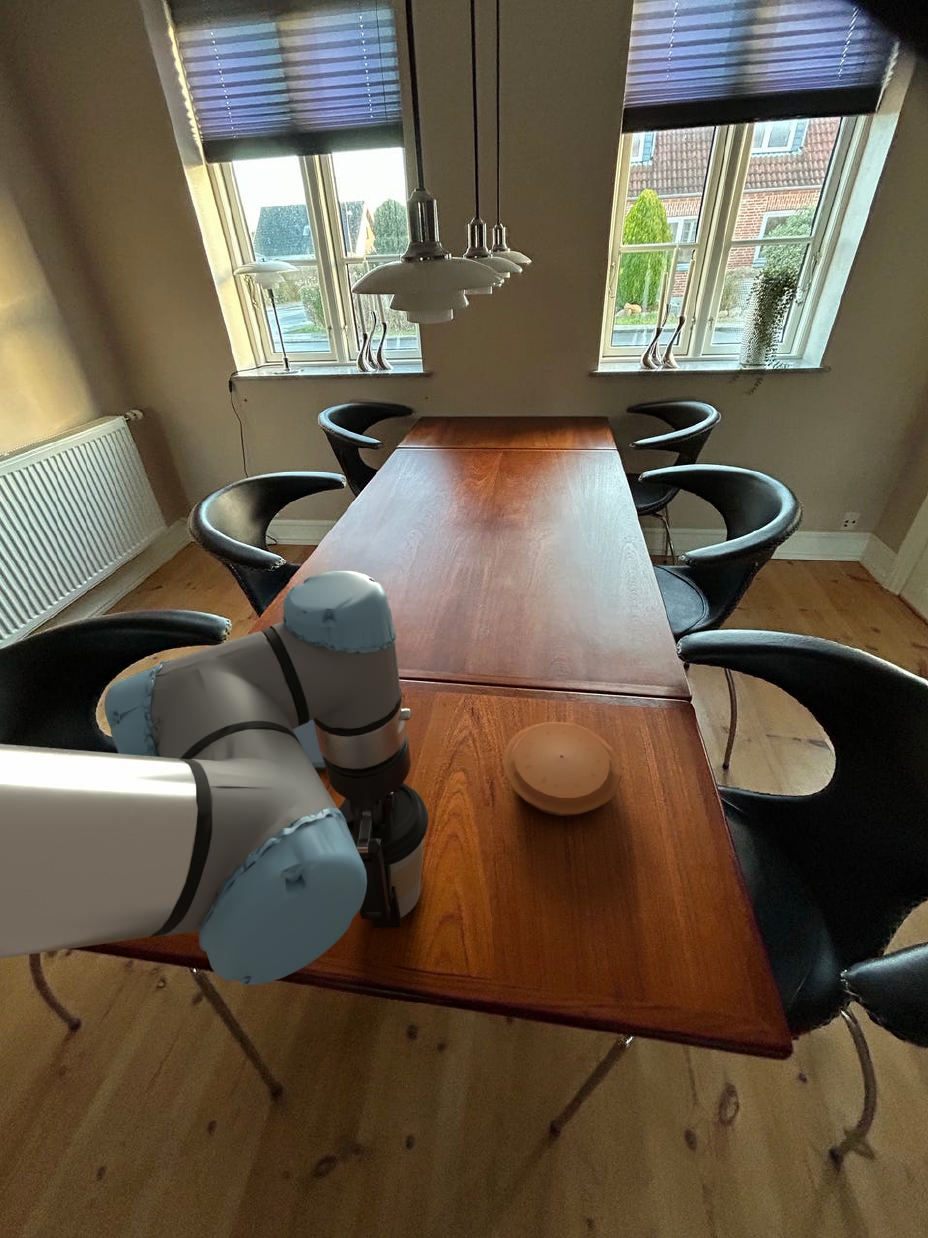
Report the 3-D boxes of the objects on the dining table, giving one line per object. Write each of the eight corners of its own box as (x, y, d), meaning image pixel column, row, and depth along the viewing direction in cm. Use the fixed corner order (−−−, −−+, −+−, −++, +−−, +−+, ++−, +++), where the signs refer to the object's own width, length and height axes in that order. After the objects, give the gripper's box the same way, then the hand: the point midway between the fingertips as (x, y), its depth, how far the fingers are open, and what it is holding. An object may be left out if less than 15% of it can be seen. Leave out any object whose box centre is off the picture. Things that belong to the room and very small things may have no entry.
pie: (479, 787, 72) (478, 762, 69) (544, 723, 82) (545, 699, 79) (577, 855, 63) (581, 830, 61) (637, 775, 73) (643, 750, 70)
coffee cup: (337, 921, 58) (311, 839, 50) (375, 845, 65) (358, 763, 57) (416, 949, 55) (403, 867, 47) (447, 867, 63) (440, 784, 54)
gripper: (394, 849, 38) (420, 989, 50) (415, 663, 55) (430, 802, 68) (289, 851, 38) (341, 991, 50) (343, 665, 55) (372, 803, 68)
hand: (392, 882), depth 59 cm, fingers closed on coffee cup, 8 cm apart
